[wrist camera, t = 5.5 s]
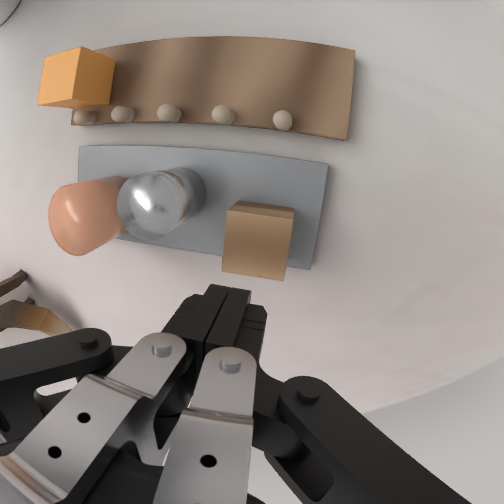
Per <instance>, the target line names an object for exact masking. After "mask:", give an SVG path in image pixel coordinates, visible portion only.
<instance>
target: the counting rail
mask: <svg viewBox="0 0 504 504" xmlns="http://www.w3.org/2000/svg"><path fill="white" fill-rule="evenodd" d="M95 52H97V53H100V54H102V55H105V56H107V57H110V58H112V59H115V60H116V63H115V68H114V74H113V80H112V87H111V94H110V101H109V105H99V106H90V107H82V108H73V111H72V121H71V125H80V126H81V125H95V124H112V123H152V122H159V123H199V124H217V125H231V126H243V127H253V128H263V129H272V130H280V131H287V132H295V133H301V134H308V135H314V136H320V137H326V138H332V139H337V140H342V141H344V140H347V133H348V124H349V116H350V106H351V97H352V86H353V74H354V61H355V50H350V49H345V48H340V47H335V46H329V45H323V44H317V43H310V42H303V41H295V40H286V39H275V38H261V37H235V36H213V37H187V38H173V39H163V40H153V41H145V42H138V43H132V44H125V45H120V46H114V47H109V48H104V49H99V50H95Z"/></svg>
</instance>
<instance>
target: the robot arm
mask: <svg viewBox="0 0 504 504" xmlns="http://www.w3.org/2000/svg"><path fill="white" fill-rule="evenodd" d="M19 2H20V0H0V25H1V24H3V23H4V22H5V21H6V20H7V18H8V17H9V16H10V15H11V14H12V12H13V11H14V10H15V8H16V7H17V5H18V4H19ZM250 300H251V291H250V290H244V289H238V288H233V287H232V288H230V287H226V286H221V285H215V284H210V286H209V287H208V289H207V290H206V292H205V293H204V295H198V294H194V295H192V296H190V297H188V298H186V299H185V300H184V301H183V303H182V304H181V305H180V307H179V308H178V309H177V311H176V312H175V314H174V315H173V316H172V318H171V319H170V320H169V322H168V323H167V324H166V326H165V327H164V329H163V330H162V331H161V332H160V333H152V334H149V335H147V336H145V337H143V338H142V339H141V340H140V341H139V342H138V343H137V344H136V345H135V346H134V347H127V346H113V345H112V343H111V338H110V336H109V335H108V333H106V332H105V331H103V330H100V329H97V328H85V329H80V330H76V331H72V332H68V333H64V334H60V335H56V336H52V337H48V338H44V339H40V340H36V341H32V342H28V343H23V344H19V345H15V346H10V347H6V348H2V349H0V504H265V503H264V502H262V501H261V500H259V499H257V498H256V497H254V496H252V495H250V494H248V493H247V489H248V478H249V468H250V457H251V446H253V447H255V448H257V449H260V450H262V451H264V455H265V457H266V459H267V461H268V462H269V463H270V464H271V466H272V467H273V468H274V469H275V471H276V472H277V473H278V474H279V476H280V477H281V478H282V479H283V481H284V482H285V483H286V484H287V486H288V487H289V488H290V489H291V490H292V491H293V493H294V494H295V495H296V496H297V497H298V498H299V500H300V501H301V502H302V503H303V504H471V503H470V502H469V501H467V500H466V499H465V498H463V497H462V496H460V495H459V494H458V493H456V492H455V491H454V490H453V489H451V488H450V487H449V486H448V485H446V484H445V483H444V482H442V481H441V480H440V479H438V478H437V477H436V476H435V475H433V474H432V473H431V472H430V471H428V470H427V469H426V468H424V467H423V466H422V465H421V464H420V463H418V462H417V461H416V460H415V459H413V458H412V457H411V456H410V455H409V454H407V453H406V452H405V451H404V450H403V449H401V448H400V447H399V446H398V445H396V444H395V443H394V442H393V441H392V440H390V439H389V438H388V437H387V436H386V435H384V433H382V432H381V431H380V430H379V429H378V428H376V427H375V426H374V425H373V424H372V423H371V422H369V421H368V420H367V419H366V418H365V417H364V416H363V415H362V414H360V413H359V412H358V411H357V410H356V409H355V408H354V407H352V406H351V405H350V404H349V403H348V402H347V401H346V400H345V399H343V398H342V397H341V396H340V395H339V394H338V393H337V392H336V391H335V390H333V389H332V388H331V387H330V386H329V385H328V384H327V383H325V382H324V381H322V380H320V379H317V378H314V377H310V376H297V377H293V378H291V379H288V380H287V381H285V382H281V381H279V380H276V379H274V378H272V377H270V376H269V375H267V374H266V373H265V372H264V371H263V370H262V368H261V367H260V365H259V359H260V354H261V349H262V343H263V337H264V331H265V325H266V319H267V313H266V311H265V309H264V307H263V306H260V305H254V304H250ZM74 377H76V380H77V383H78V384H77V385H76V386H75V387H74V388H73V389H70V390H67V391H63V392H60V393H56V394H52V395H49V396H43V395H40V394H39V393H38V392H37V391H36V389H37V388H39V387H41V386H45V385H49V384H52V383H56V382H60V381H63V380H67V379H70V378H74ZM192 396H193V397H192ZM191 398H192V400H191ZM190 400H191V403H190ZM189 403H190V406H189V408H188V405H189ZM169 447H170V449H169ZM168 449H169V453H168V456H167V459H166V462H165V465H164V466H162V463H163V460H164V457H165V455H166V453H167V451H168Z"/></svg>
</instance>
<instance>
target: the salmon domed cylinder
mask: <svg viewBox="0 0 504 504" xmlns="http://www.w3.org/2000/svg"><path fill="white" fill-rule="evenodd" d="M127 180H128V179H126V178H124V177H122V176H117V175H116V176H109V177H103V178H98V179H93V180H88V181H84V182H79V183H74V184H70V185H66V186H63V187H61V188H59V189H58V190H57V191H56V192H55V193H54V195H53V197H52V199H51V201H50V204H49V210H48V220H49V226H50V230H51V233H52V235H53V237H54V239H55V241H56V242H57V244H58V245H59V246H60V247H61V249H63V250H64V251H65V252H67V253H68V254H70V255H73V256H82V255H85V254H87V253H89V252H91V251H92V250H94V249H96V248H98V247H100V246H101V245H103V244H105V243H107V242H109V241H111V240H112V239H114V238H116V237H118V236H120V235H122V234H124V233H126V232H128V231H127V230H126V229H125V228H124V226H123V225H122V223H121V221H120V218H119V215H118V211H117V199H118V195H119V192H120V189H121V187H122V186H123V184H124V183H125V182H126V181H127Z"/></svg>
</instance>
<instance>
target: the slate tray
mask: <svg viewBox="0 0 504 504" xmlns="http://www.w3.org/2000/svg"><path fill="white" fill-rule="evenodd" d="M179 167H184V168H189V169H191V170H193V171H195V172H196V173H197V174H198V175H199V176H200V177H201V178H202V180H203V182H204V184H205V187H206V200H205V203H204V206H203V207H202V209H201V210H200V212H198V213H197V214H196V215H195V216H193V217H192V218H190V219H188V220H187V221H185V222H184V223H182V224H181V225H179V226H178V227H176V228H175V229H173V230H172V231H170V232H169V233H167V234H166V235H164V236H163V237H161V238H159V239H156V240H152V241H146V240H141V239H138V238H136V237H134V236H133V235H131V234H130V233H129V232H126V233H124V234H122V235H120V236H118V237H116V239H122V240H127V241H133V242H139V243H145V244H151V245H157V246H163V247H170V248H176V249H182V250H188V251H194V252H200V253H206V254H212V255H219V256H223V248H224V237H225V226H226V216H227V210H228V209H229V208H230V207H231V206H233V205H234V204H235V203H236V202H237V201H239V200H241V201H249V202H256V203H263V204H270V205H277V206H284V207H290V208H294V216H293V226H292V232H291V238H290V245H289V251H288V257H287V263H286V266H288V267H294V268H301V269H307V270H310V269H311V264H312V259H313V254H314V249H315V243H316V238H317V232H318V227H319V221H320V215H321V209H322V203H323V197H324V191H325V184H326V178H327V171H328V164H323V163H317V162H311V161H305V160H298V159H291V158H284V157H277V156H269V155H261V154H253V153H244V152H234V151H224V150H212V149H199V148H183V147H162V146H79V158H78V183H79V182H84V181H88V180H93V179H98V178H103V177H109V176H116V175H117V176H122V177H124V178H126V179H129V178H131V177H133V176H135V175H137V174H142V173H148V172H154V171H160V170H166V169H172V168H179Z"/></svg>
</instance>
